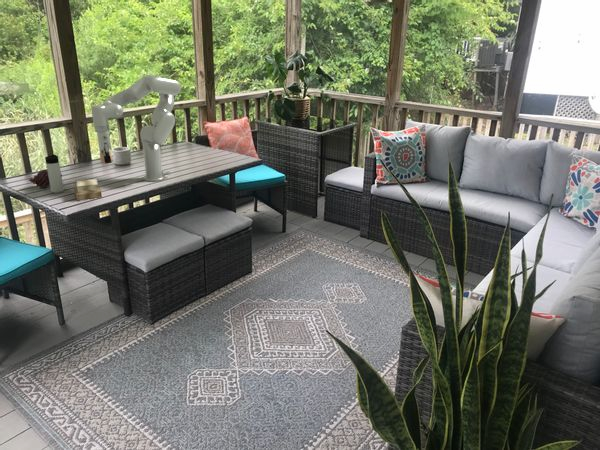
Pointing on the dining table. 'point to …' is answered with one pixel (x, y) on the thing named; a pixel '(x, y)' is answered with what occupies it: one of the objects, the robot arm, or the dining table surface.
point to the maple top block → (87, 186)
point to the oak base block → (87, 195)
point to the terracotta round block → (103, 158)
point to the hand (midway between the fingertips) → (107, 160)
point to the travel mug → (54, 174)
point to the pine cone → (41, 179)
